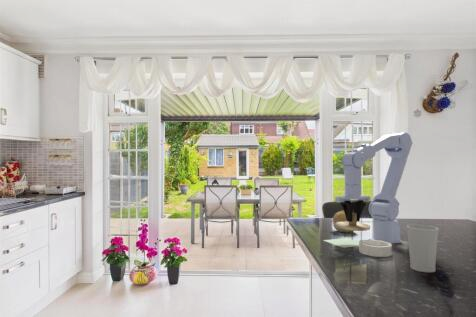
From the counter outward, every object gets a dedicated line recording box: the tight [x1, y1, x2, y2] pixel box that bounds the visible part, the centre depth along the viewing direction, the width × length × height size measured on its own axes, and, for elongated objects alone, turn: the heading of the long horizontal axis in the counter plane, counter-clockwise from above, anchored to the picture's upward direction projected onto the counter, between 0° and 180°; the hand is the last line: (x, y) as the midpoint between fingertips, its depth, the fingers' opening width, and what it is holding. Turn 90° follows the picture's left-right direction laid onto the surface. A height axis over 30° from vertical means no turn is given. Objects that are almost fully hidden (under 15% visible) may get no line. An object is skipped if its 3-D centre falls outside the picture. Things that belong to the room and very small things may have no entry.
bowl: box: [358, 239, 393, 258], centre depth 107 cm, size 10×10×4 cm
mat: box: [322, 237, 360, 249], centre depth 121 cm, size 12×12×1 cm
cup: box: [406, 224, 439, 273], centre depth 92 cm, size 8×8×12 cm
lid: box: [336, 212, 371, 232], centre depth 117 cm, size 12×12×5 cm
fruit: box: [332, 210, 354, 234], centre depth 141 cm, size 10×11×10 cm
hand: (353, 221), depth 117 cm, fingers closed on lid, 3 cm apart
